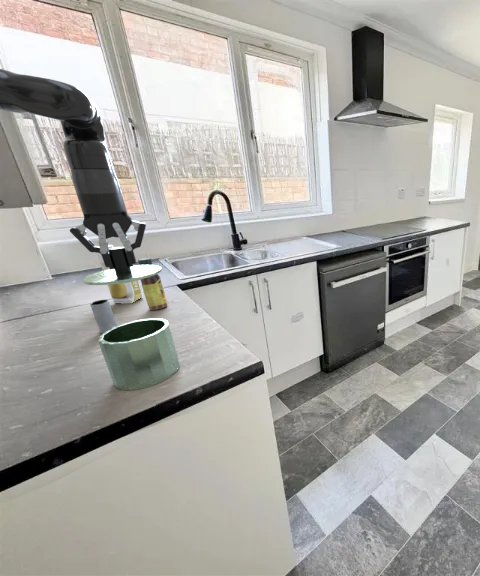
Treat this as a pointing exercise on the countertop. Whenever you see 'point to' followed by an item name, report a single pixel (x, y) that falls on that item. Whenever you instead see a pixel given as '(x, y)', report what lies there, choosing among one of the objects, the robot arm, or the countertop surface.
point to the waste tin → (139, 353)
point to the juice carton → (122, 287)
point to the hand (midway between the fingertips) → (122, 267)
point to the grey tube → (103, 315)
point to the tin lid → (121, 270)
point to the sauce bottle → (153, 288)
